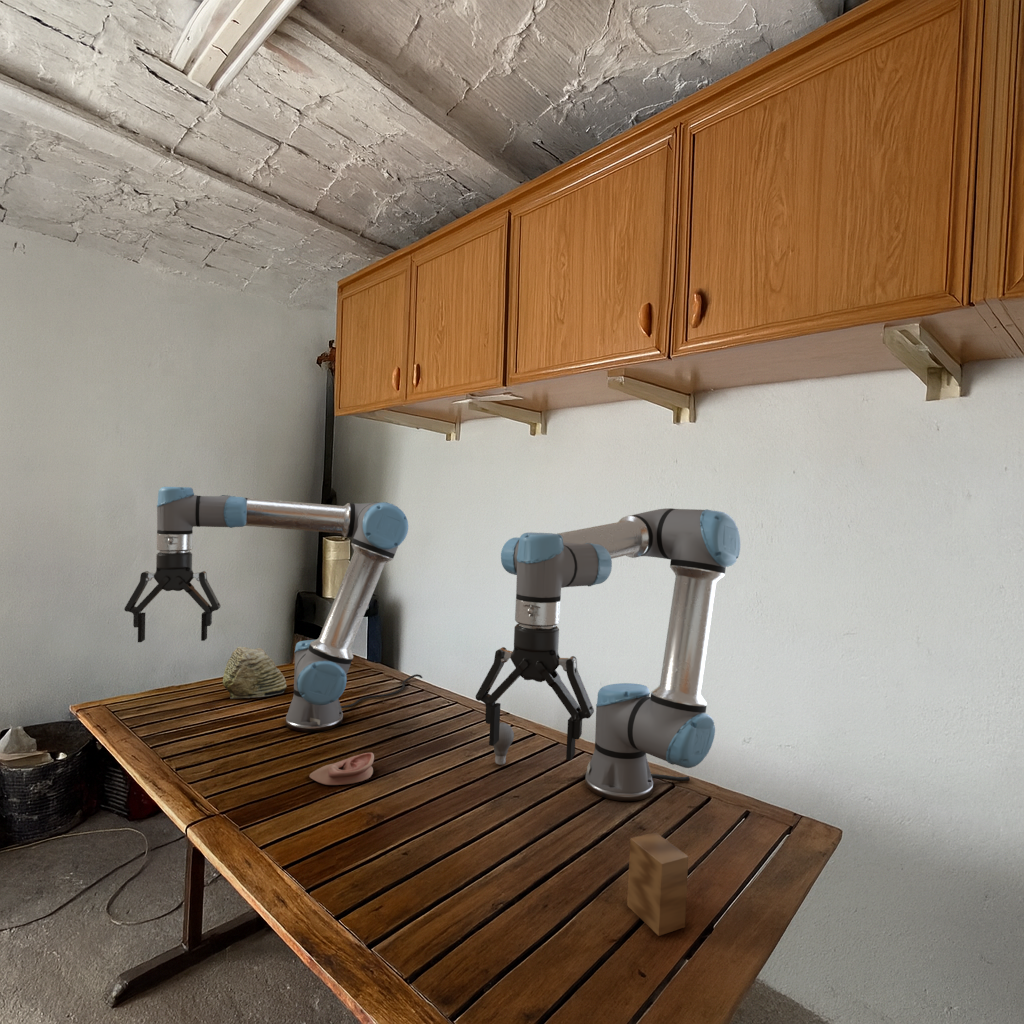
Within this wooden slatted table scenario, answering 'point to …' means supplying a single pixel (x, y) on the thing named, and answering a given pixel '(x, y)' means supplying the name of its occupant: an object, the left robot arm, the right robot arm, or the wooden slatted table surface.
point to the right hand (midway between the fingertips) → (531, 750)
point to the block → (657, 883)
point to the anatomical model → (345, 770)
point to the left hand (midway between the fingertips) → (173, 640)
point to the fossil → (252, 674)
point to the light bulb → (503, 743)
